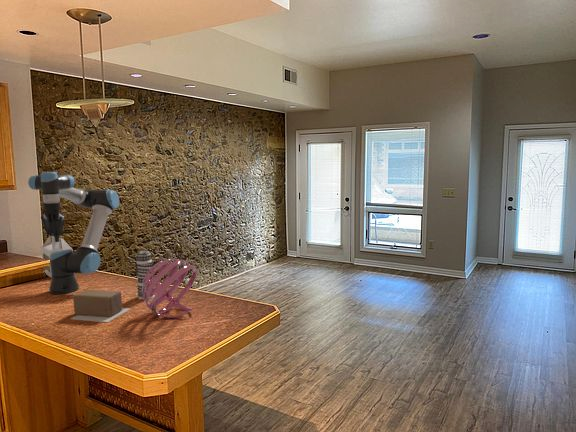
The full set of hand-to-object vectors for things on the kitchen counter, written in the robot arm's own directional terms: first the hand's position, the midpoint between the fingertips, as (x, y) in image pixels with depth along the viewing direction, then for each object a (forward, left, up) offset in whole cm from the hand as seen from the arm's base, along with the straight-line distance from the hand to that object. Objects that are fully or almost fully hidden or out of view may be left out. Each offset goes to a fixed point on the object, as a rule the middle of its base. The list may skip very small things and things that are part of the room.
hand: (55, 248), depth 225 cm
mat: (+10, +32, -29) cm, 45 cm away
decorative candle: (-18, +39, -30) cm, 52 cm away
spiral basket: (+2, +65, -30) cm, 71 cm away
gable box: (-51, -46, -30) cm, 75 cm away
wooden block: (+10, +20, -24) cm, 33 cm away
